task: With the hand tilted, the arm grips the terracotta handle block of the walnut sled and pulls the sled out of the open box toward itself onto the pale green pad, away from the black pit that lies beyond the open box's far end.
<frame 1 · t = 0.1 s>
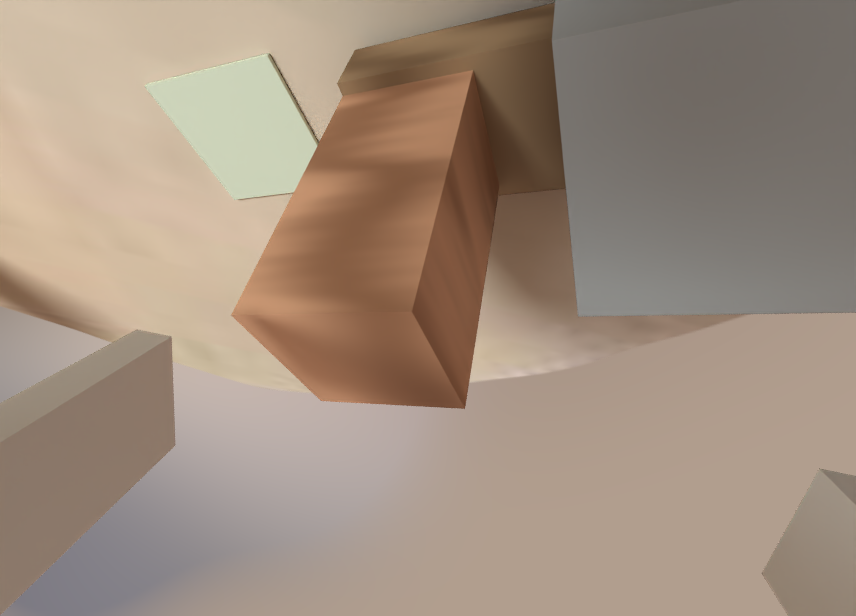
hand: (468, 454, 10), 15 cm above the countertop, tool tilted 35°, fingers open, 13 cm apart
sled: (559, 194, 15), point 7 cm above the countertop, slide at 0.0 cm
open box: (721, 51, 17), on the countertop
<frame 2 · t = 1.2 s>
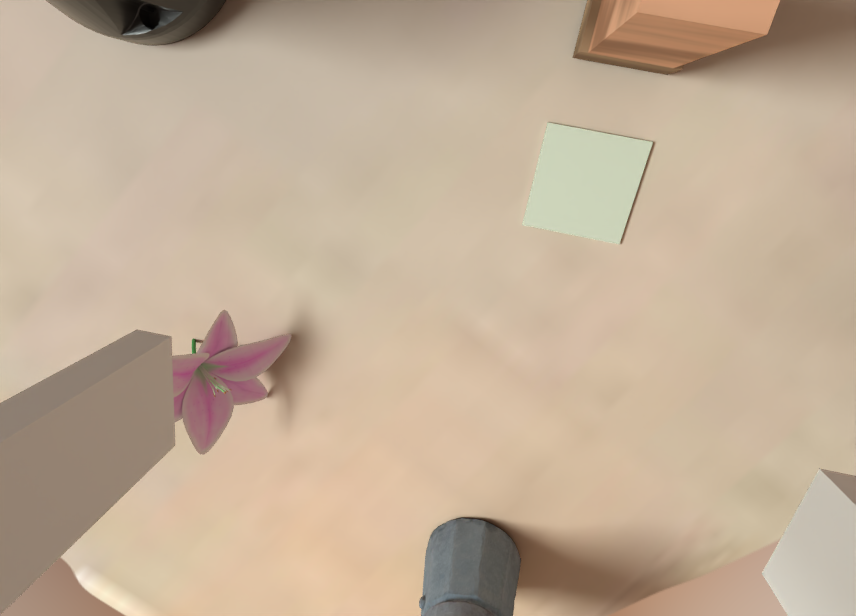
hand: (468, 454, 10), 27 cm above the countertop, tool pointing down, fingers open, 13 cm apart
lily: (240, 355, 42), on the countertop
moka pot: (475, 549, 46), on the countertop
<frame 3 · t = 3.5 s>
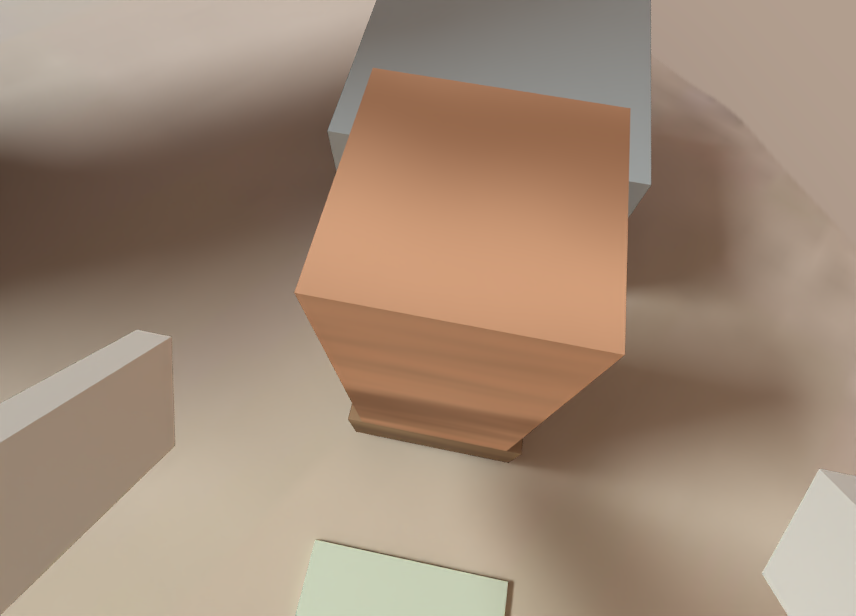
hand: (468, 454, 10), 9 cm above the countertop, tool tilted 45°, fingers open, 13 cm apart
sled: (480, 184, 16), point 7 cm above the countertop, slide at 0.0 cm
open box: (479, 187, 24), on the countertop
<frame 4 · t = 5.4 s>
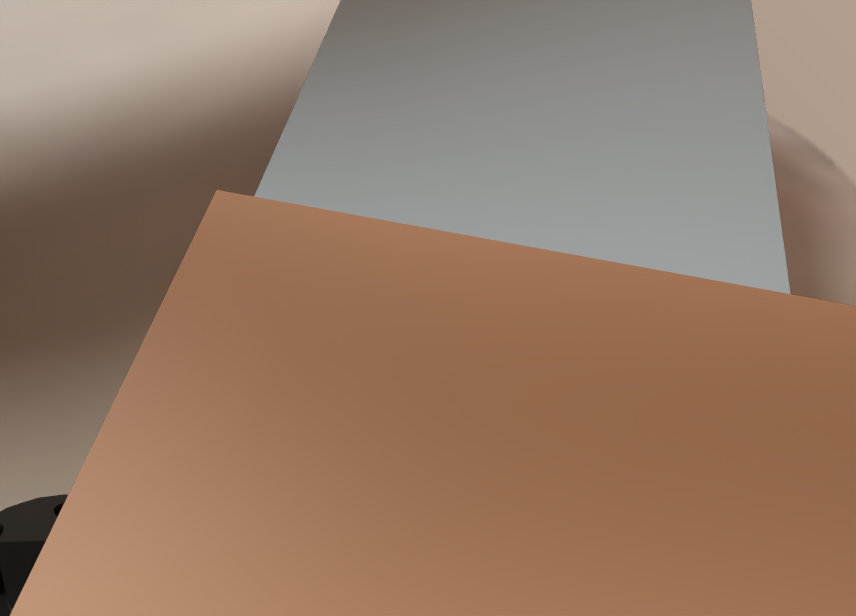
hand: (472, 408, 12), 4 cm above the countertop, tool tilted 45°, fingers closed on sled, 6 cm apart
sled: (499, 300, 10), point 7 cm above the countertop, slide at 0.0 cm, touching gripper
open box: (490, 252, 18), on the countertop
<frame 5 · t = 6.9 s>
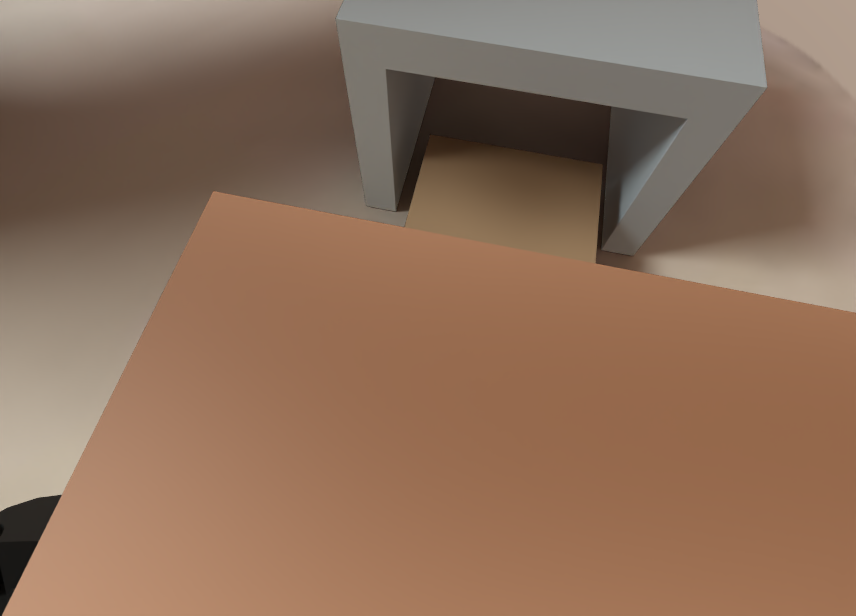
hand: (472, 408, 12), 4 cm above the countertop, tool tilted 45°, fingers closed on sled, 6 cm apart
sled: (499, 300, 10), point 7 cm above the countertop, slide at 6.0 cm, touching gripper
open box: (514, 134, 20), on the countertop
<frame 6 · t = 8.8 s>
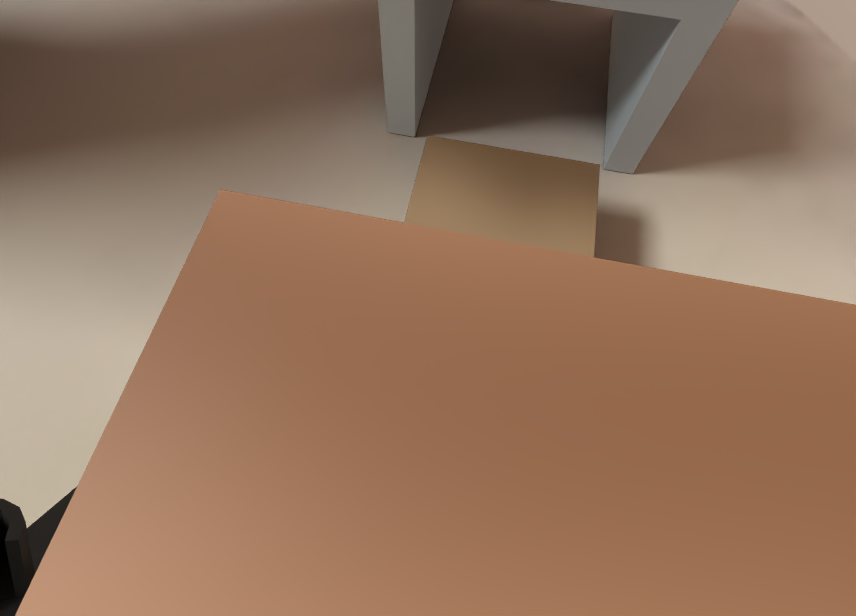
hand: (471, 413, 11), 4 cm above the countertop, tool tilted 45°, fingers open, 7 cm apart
sled: (499, 299, 10), point 7 cm above the countertop, slide at 10.0 cm
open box: (521, 71, 22), on the countertop
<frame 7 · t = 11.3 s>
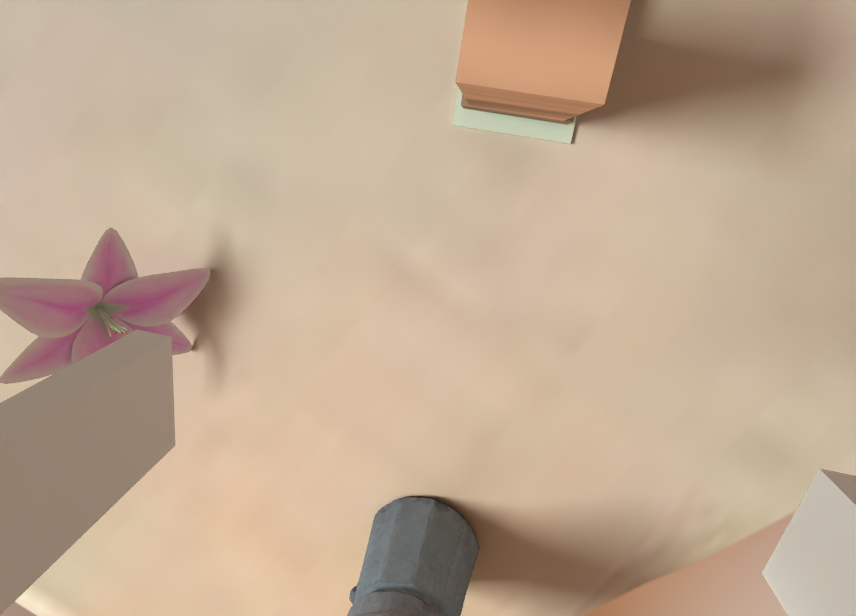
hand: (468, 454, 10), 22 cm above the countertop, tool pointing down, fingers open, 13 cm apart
lily: (157, 300, 35), on the countertop
moka pot: (427, 534, 39), on the countertop
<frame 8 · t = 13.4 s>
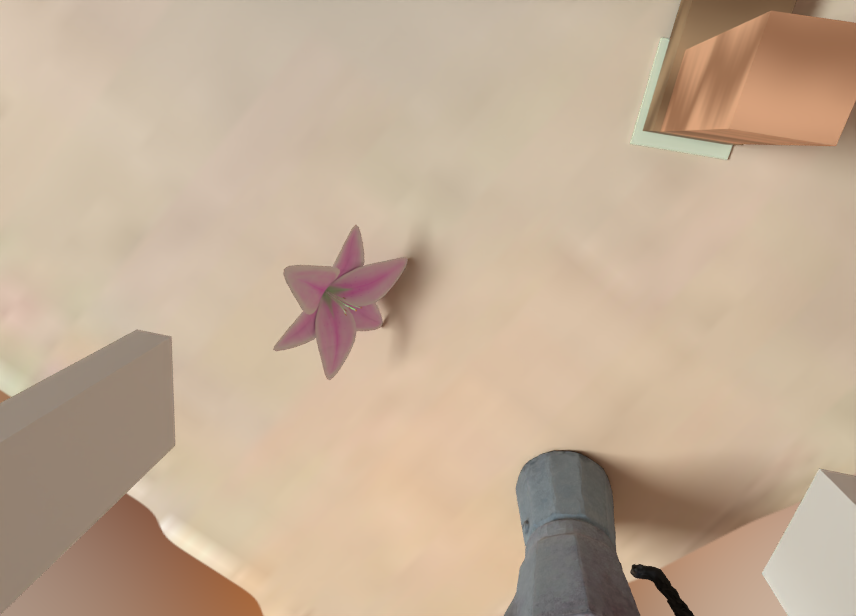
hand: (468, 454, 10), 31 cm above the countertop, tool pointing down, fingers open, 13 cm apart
lily: (355, 285, 42), on the countertop
moka pot: (565, 483, 46), on the countertop
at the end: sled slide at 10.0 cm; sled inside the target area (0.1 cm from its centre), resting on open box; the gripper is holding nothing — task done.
